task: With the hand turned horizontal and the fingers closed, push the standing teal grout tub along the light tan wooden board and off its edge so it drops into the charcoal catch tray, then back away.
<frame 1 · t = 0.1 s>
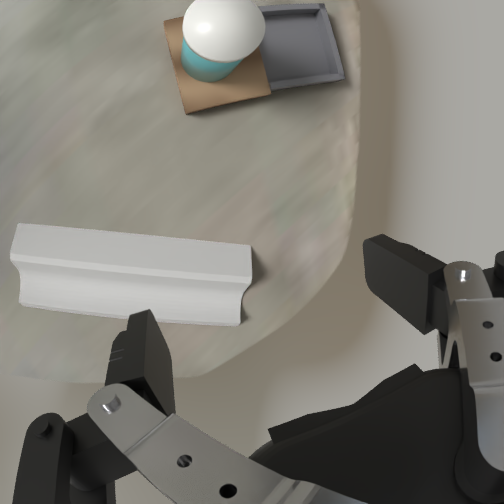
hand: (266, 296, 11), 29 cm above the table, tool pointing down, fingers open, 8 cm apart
catch tray: (292, 47, 35), on the table
grout tub: (208, 56, 31), point 2 cm above the table, touching light tan wooden board
light tan wooden board: (215, 59, 33), on the table
crown molding: (126, 274, 40), on the table
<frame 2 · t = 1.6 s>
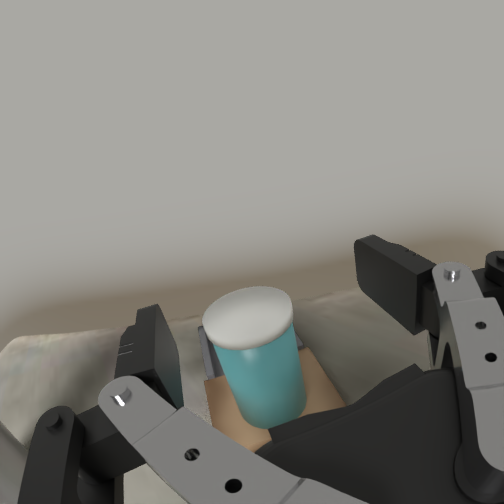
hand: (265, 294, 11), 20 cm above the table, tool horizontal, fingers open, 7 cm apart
catch tray: (250, 351, 39), on the table
grout tub: (272, 402, 28), point 2 cm above the table, touching light tan wooden board
light tan wooden board: (272, 408, 30), on the table
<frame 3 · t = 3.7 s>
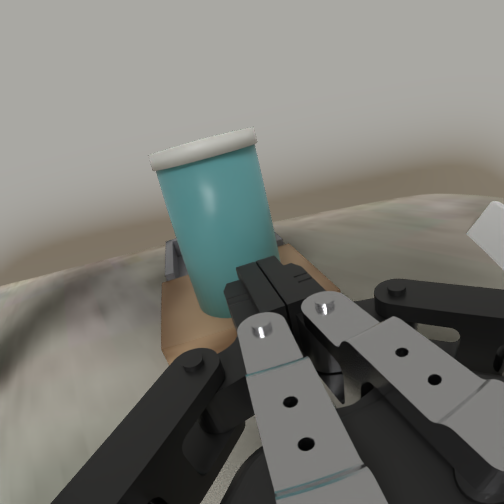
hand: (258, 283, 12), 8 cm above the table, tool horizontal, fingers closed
catch tray: (222, 262, 34), on the table
grout tub: (241, 292, 23), point 2 cm above the table, touching light tan wooden board
light tan wooden board: (243, 308, 25), on the table
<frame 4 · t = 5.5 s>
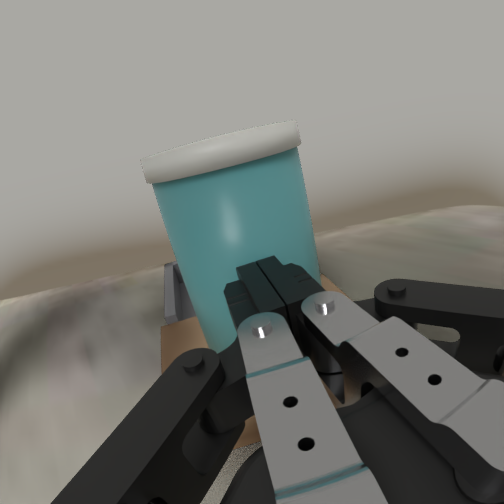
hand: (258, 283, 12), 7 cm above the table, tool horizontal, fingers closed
catch tray: (236, 293, 28), on the table
grout tub: (270, 343, 17), point 2 cm above the table
light tan wooden board: (270, 366, 18), on the table
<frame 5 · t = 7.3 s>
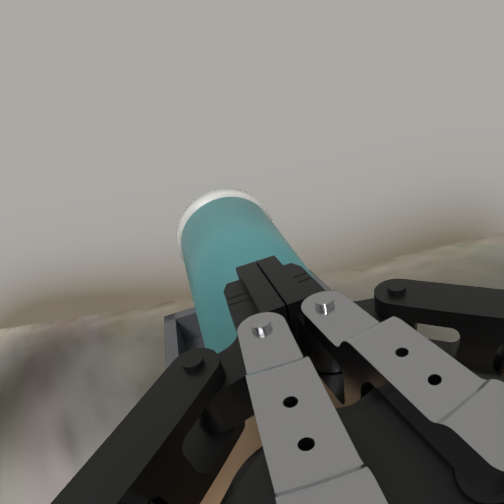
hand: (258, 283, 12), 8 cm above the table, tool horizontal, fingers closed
catch tray: (265, 363, 19), on the table
grout tub: (278, 347, 14), point 4 cm above the table, tilted 76°, touching catch tray, gripper
light tan wooden board: (330, 496, 10), on the table
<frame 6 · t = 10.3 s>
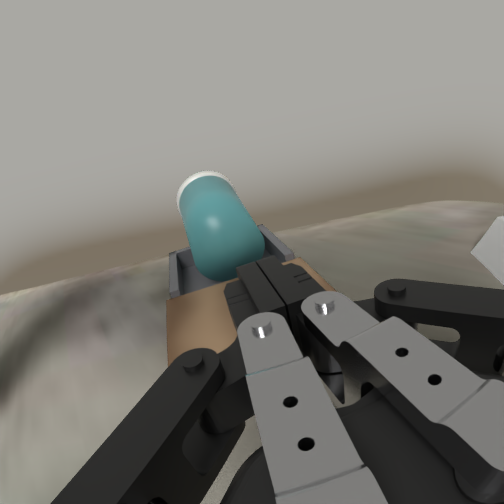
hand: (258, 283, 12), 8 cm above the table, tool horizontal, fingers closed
catch tray: (229, 276, 33), on the table
grout tub: (230, 252, 28), point 4 cm above the table, tilted 73°, touching catch tray
light tan wooden board: (253, 329, 23), on the table
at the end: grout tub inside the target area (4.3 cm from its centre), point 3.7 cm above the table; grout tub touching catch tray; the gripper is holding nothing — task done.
